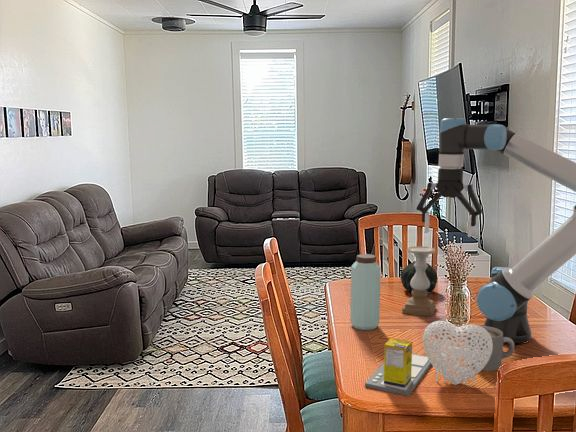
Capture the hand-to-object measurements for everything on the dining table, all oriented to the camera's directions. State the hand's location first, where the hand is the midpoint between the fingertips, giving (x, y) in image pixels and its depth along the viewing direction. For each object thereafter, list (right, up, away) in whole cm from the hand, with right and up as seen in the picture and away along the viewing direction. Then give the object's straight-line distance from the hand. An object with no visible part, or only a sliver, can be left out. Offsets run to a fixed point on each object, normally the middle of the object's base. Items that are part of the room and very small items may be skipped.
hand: (447, 234), depth 187 cm
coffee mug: (+8, -38, -16) cm, 42 cm away
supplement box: (-22, -39, -30) cm, 53 cm away
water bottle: (-24, -33, +17) cm, 44 cm away
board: (-19, -38, -22) cm, 48 cm away
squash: (+4, -26, +59) cm, 65 cm away
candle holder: (-1, -30, +34) cm, 45 cm away
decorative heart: (-6, -40, -29) cm, 49 cm away
